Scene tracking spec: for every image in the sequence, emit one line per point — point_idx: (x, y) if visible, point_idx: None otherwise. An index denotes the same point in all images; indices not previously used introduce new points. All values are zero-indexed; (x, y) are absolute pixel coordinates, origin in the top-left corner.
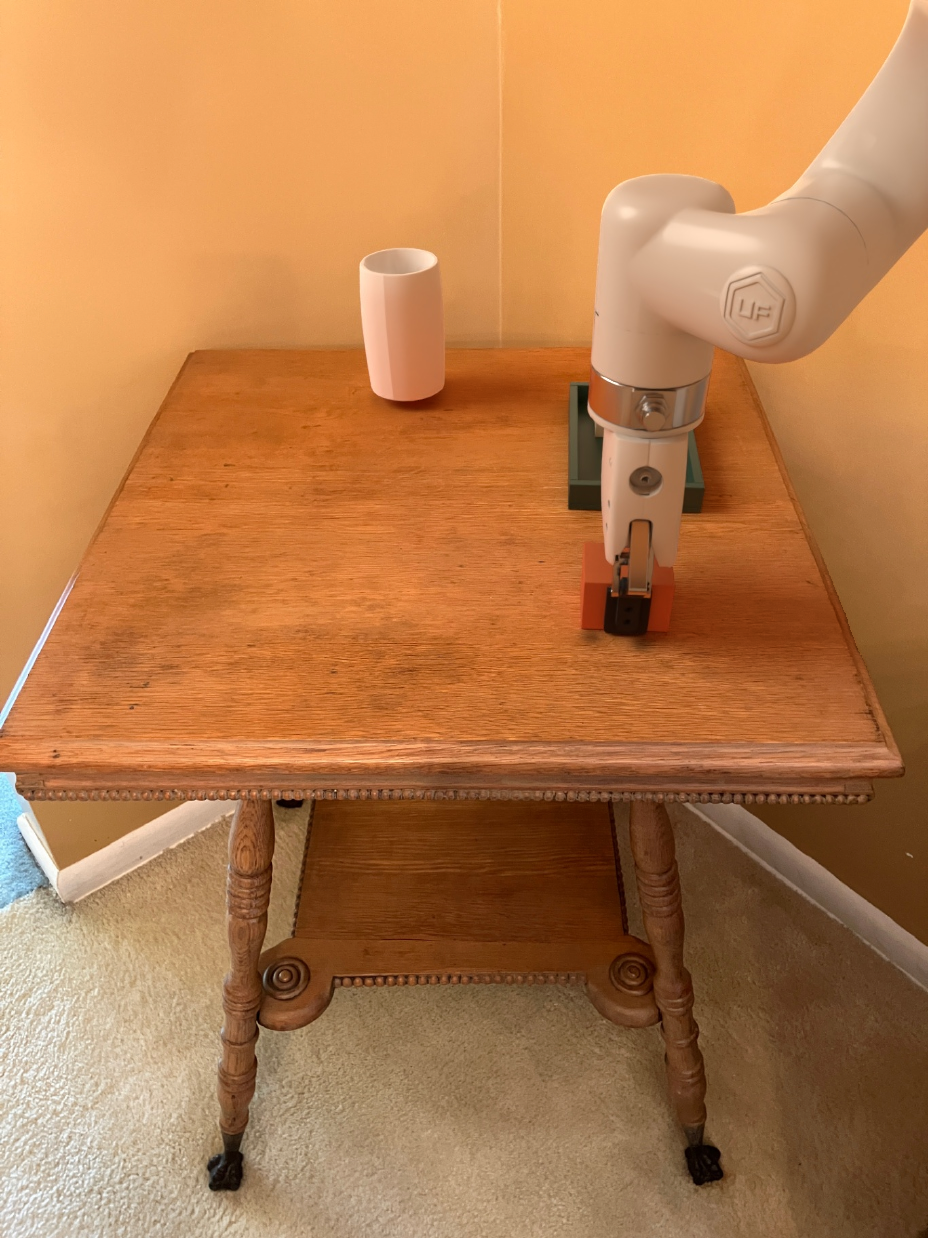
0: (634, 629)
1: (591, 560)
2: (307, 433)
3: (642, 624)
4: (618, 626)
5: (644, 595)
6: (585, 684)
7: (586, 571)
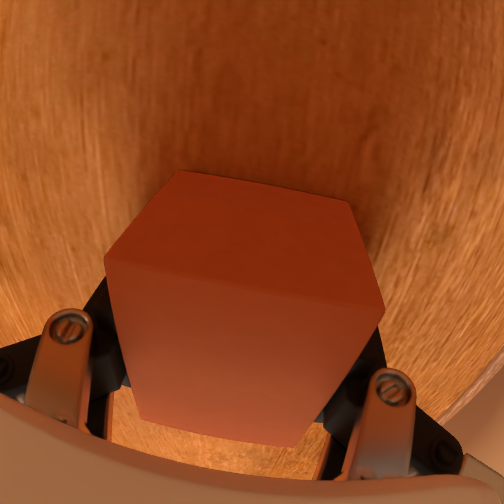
0: None
1: (213, 431)
2: None
3: None
4: None
5: (448, 433)
6: (420, 355)
7: (254, 441)
